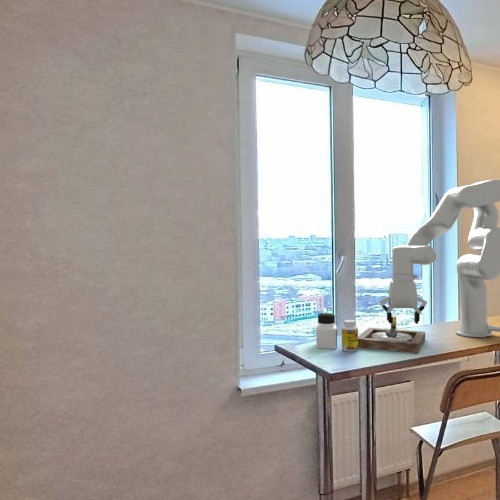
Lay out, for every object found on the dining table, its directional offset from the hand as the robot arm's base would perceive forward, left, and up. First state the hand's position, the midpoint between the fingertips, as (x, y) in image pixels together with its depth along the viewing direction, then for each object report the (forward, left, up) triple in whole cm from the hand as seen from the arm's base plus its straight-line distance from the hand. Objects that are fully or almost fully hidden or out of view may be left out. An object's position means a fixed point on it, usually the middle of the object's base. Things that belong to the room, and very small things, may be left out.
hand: (403, 322), depth 167 cm
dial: (+3, +8, -5) cm, 10 cm away
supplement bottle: (+14, +24, -6) cm, 29 cm away
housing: (+3, +9, -6) cm, 12 cm away
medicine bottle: (+23, +22, -6) cm, 33 cm away
